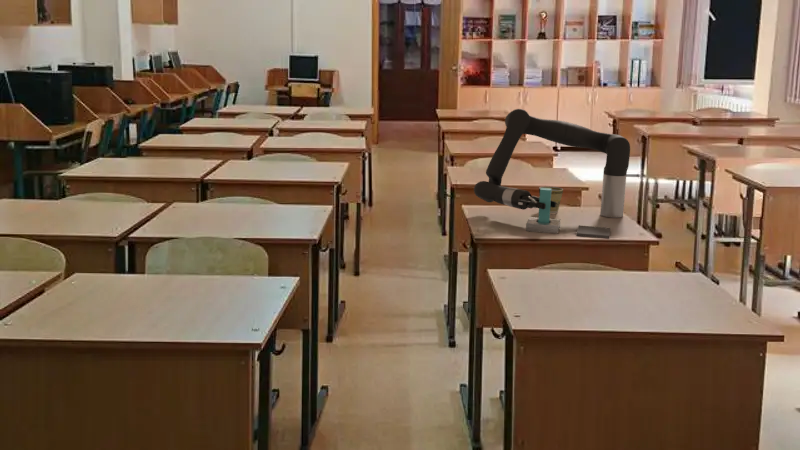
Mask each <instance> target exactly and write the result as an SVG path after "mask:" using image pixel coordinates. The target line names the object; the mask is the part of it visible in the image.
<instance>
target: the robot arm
mask: <svg viewBox="0 0 800 450" xmlns="http://www.w3.org/2000/svg"><path fill="white" fill-rule="evenodd" d="M504 124H505V131H504V133H503V136H502V138H501V141H500V143H499V144H498V145H497V148H496V150H495V151H494V153H493V155H492V157H491V160H490V161H489V163H488V165H487V167H486V170H485V174H486V177H488V181H486V180H481V181H478V182H476V183H475V185H474V187H473V192H474V195H475V196H476V197H477V198H479V199H481V200H483V201H485V202H486V203H494V202H496V203H497V204H500V205H505V206H508V207H511V208H515V209H517V210H518V209H519V210H526V209H539V208H540V209H545V207H546V204H545V203H541V202H539V201H540V196H536V195H532V194H531V192H530V191H528V190H526V189H522V188H516V187H508V186H503V185H502V180H503V176H504V174H505V172H506V170H507V167H508V164H509V162H510V160H511V158H512V155H513V153H514V151H515V148H516V146H517V144H518V143H519V141H520V139H521V137H522V136H523V135H529V136H534V137H538V138H541V139H544V140H547V141H550V142H553V143H556V144H561V145H562V146H567V147H571V148H572V147H573V148H580V149H581V148H582V149H583V148H584V149H591V150H595V151H598V152H601V153H603V154H606V157H605V158H606V159H605V160H606V161H605V166H604V167H603V175H602V189H601V201H600V202H601V203H600V212H599V213H600V215H601V216H602V217H605V218H606V217H607V218H616V219H617V218H622V217H623V218H624V207H625V197H626V188H627V187H626V184H627V173H628V170H629V164H630V155H631V144H630V141H629V140H628V139H627V138H625V137H624V136H622V135H620V134H616V133H615V134H614V133H605V132H599V131H596V130H593V129H591V128H587V127H585V126H583V125H578V124H577V123H572V122H568V121H564V120H557V119H548V118H547V119H545V118H539V117H536V116H532V115H530V114H529V113H528V111H526V109H523V108H516V109H513V110H511V111H510V112H509V113H508V114H507V115H506V116H505V118H504ZM551 207H556V202H555V201H551Z"/></svg>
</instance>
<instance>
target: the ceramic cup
mask: <svg viewBox="0 0 800 450" xmlns="http://www.w3.org/2000/svg"><path fill="white" fill-rule="evenodd" d="M541 188H552V192H551V201H555V202H556V207H550V213H555V214H558V212H559V208H560V204H561V200H562V198H563V193H564V189H563V187H558V186H546V185H545V186H539V187H538V193H539V194H538V195H539V196H538V197H540V189H541Z"/></svg>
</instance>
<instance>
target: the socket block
mask: <svg viewBox="0 0 800 450" xmlns="http://www.w3.org/2000/svg"><path fill="white" fill-rule="evenodd" d="M561 221H562V220H561V219H559V218H550V222H549V223H540V222H538V217H537V216H536V217H535V216H533V217H532V216H529V217H528V218H527V221H526V223H525V231H526V232H532V233H535V232H536V233H545V234H547V233H548V234H559V232H560V229H559V228H561Z"/></svg>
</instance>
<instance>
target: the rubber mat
mask: <svg viewBox="0 0 800 450" xmlns="http://www.w3.org/2000/svg"><path fill="white" fill-rule="evenodd" d="M610 235H611V227H606V226H605V227H604V226H592V225H591V226H590V225H578V227H577V231H576V237H587V238H588V237H589V238H601V239H610Z"/></svg>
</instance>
